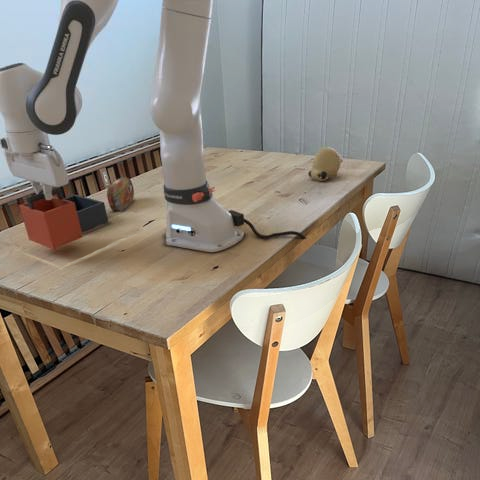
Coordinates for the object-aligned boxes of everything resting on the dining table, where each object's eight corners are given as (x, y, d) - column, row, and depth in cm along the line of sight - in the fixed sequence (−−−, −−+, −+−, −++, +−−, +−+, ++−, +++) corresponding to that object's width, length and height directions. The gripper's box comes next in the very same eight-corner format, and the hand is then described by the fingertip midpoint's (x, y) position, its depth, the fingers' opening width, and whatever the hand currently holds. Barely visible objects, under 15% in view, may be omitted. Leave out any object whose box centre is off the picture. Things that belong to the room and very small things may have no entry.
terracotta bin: (83, 237, 128) (71, 190, 121) (53, 249, 122) (40, 201, 115) (58, 228, 134) (46, 183, 127) (29, 240, 128) (15, 193, 121)
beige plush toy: (314, 185, 176) (298, 170, 169) (329, 155, 176) (314, 139, 168) (334, 190, 170) (319, 175, 162) (350, 159, 169) (336, 142, 161)
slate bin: (108, 223, 146) (104, 202, 142) (75, 237, 138) (70, 215, 135) (80, 215, 154) (75, 194, 150) (47, 228, 146) (41, 206, 142)
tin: (118, 215, 152) (112, 188, 148) (109, 214, 153) (103, 188, 148) (136, 198, 164) (131, 173, 160) (127, 198, 165) (122, 173, 160)
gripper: (67, 143, 111) (80, 201, 119) (18, 134, 122) (33, 188, 129) (43, 149, 107) (58, 209, 115) (-6, 140, 118) (12, 195, 125)
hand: (45, 198), depth 122 cm, fingers closed on terracotta bin
